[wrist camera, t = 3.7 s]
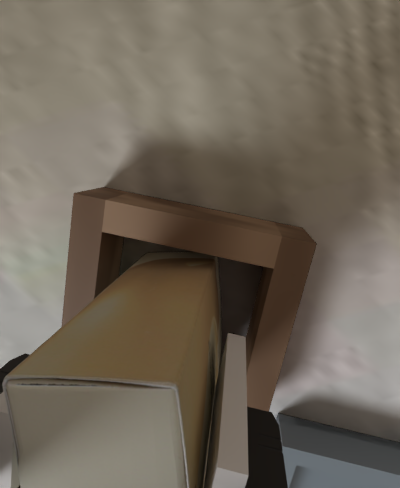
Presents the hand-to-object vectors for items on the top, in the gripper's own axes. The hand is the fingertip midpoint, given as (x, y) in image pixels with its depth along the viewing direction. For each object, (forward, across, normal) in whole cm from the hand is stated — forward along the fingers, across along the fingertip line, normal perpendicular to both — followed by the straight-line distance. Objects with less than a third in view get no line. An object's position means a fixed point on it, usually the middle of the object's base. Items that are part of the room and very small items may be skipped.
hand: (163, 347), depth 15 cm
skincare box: (+5, 0, 0) cm, 5 cm away
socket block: (+5, 0, 0) cm, 5 cm away
